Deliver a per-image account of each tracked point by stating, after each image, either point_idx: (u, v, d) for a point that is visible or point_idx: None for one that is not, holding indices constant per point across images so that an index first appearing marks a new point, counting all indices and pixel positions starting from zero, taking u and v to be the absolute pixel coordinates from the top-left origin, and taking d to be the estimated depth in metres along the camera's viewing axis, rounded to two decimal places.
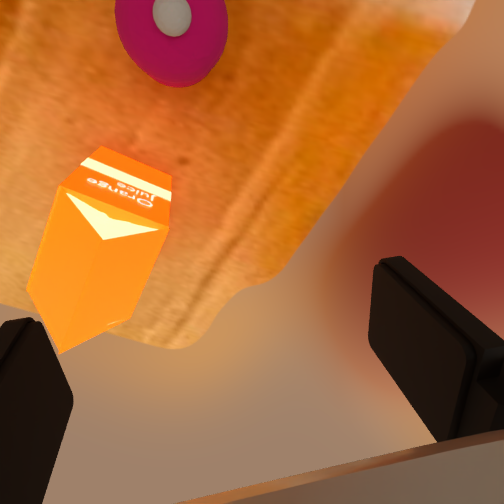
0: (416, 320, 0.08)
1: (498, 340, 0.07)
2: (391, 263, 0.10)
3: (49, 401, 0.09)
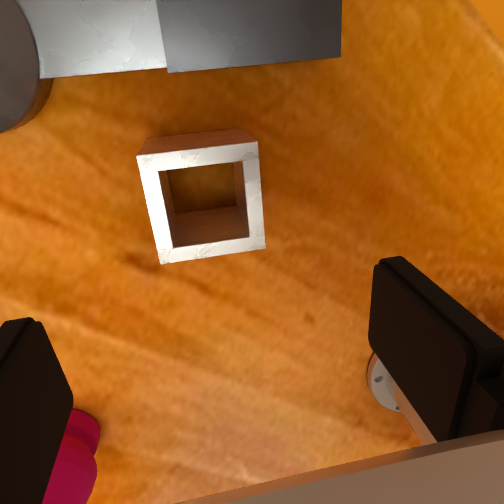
0: (416, 320, 0.08)
1: (498, 340, 0.07)
2: (391, 263, 0.10)
3: (49, 401, 0.09)
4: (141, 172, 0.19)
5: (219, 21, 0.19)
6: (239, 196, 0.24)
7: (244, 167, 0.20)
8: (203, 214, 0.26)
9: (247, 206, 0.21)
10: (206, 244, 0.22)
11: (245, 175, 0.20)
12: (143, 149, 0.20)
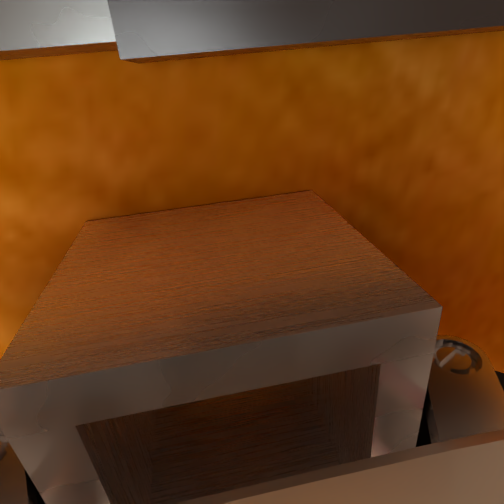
0: None
1: None
2: None
3: None
4: (12, 436, 0.05)
5: None
6: None
7: (382, 380, 0.06)
8: None
9: None
10: None
11: (380, 399, 0.06)
12: (41, 311, 0.06)
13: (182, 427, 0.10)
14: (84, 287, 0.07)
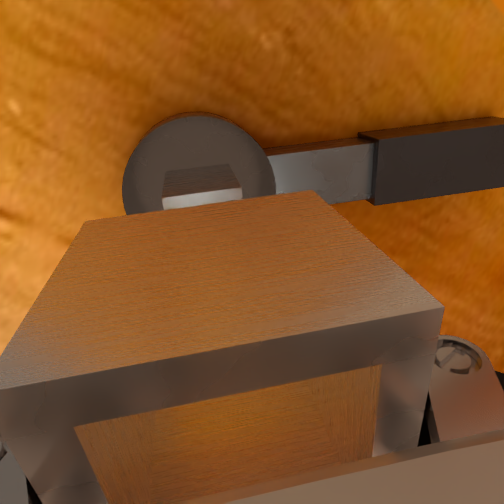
0: None
1: None
2: None
3: None
4: (10, 437, 0.05)
5: (423, 165, 0.23)
6: None
7: (383, 381, 0.06)
8: None
9: None
10: None
11: (382, 400, 0.06)
12: (39, 311, 0.06)
13: (182, 428, 0.10)
14: (83, 287, 0.07)
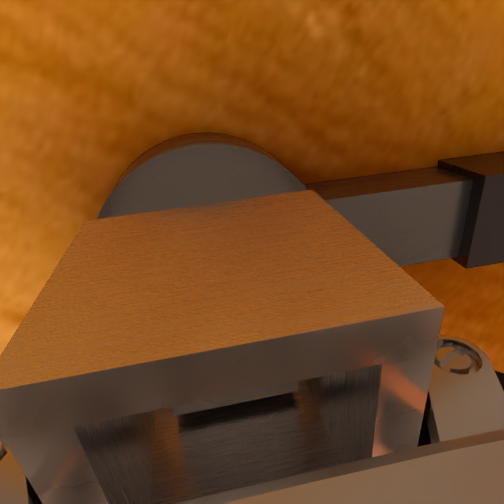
0: None
1: None
2: None
3: None
4: (10, 437, 0.05)
5: None
6: None
7: (383, 381, 0.06)
8: None
9: None
10: None
11: (382, 400, 0.06)
12: (39, 311, 0.06)
13: (182, 428, 0.10)
14: (83, 287, 0.07)
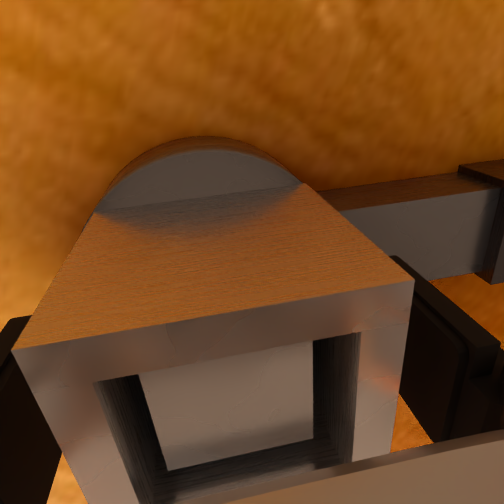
0: (410, 319, 0.09)
1: (490, 338, 0.07)
2: None
3: None
4: (37, 391, 0.06)
5: None
6: None
7: (363, 347, 0.07)
8: None
9: (354, 428, 0.08)
10: None
11: (362, 365, 0.07)
12: (59, 287, 0.07)
13: None
14: (96, 267, 0.07)
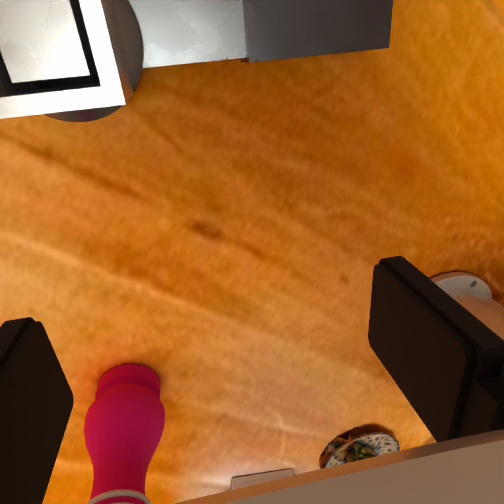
0: (416, 320, 0.08)
1: (498, 340, 0.07)
2: (391, 263, 0.10)
3: (49, 401, 0.09)
4: None
5: (294, 18, 0.23)
6: None
7: None
8: None
9: (90, 40, 0.17)
10: (44, 93, 0.17)
11: None
12: None
13: (38, 90, 0.20)
14: None
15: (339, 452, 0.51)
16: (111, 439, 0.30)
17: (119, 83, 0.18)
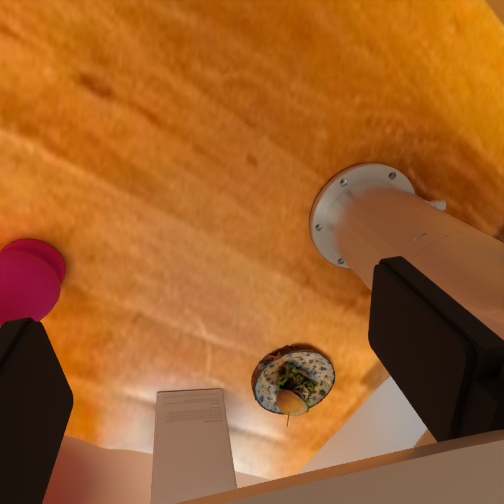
0: (416, 320, 0.08)
1: (498, 340, 0.07)
2: (391, 263, 0.10)
3: (49, 401, 0.09)
4: None
5: None
6: None
7: None
8: None
9: None
10: None
11: None
12: None
13: None
14: None
15: (271, 373, 0.50)
16: None
17: None
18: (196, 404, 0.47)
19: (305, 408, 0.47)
